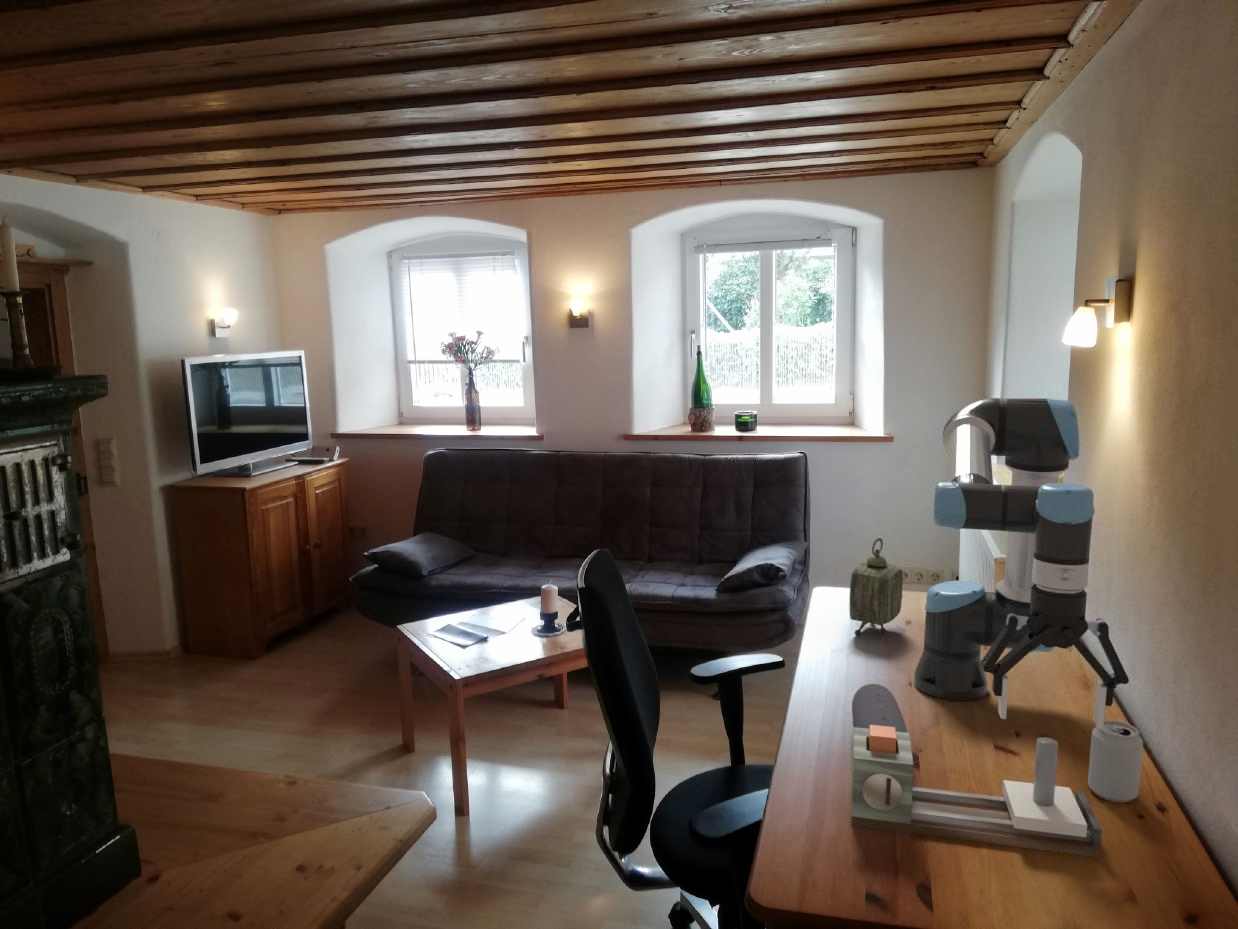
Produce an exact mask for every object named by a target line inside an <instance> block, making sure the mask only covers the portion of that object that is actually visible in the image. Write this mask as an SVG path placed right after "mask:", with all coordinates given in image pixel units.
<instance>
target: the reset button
mask: <svg viewBox="0 0 1238 929" xmlns="http://www.w3.org/2000/svg"><path fill="white" fill-rule="evenodd" d="M869 751H875V752H884V753H893V754H896V731H895V727H888V726H879V725H870V732H869Z"/></svg>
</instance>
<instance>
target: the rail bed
mask: <svg viewBox="0 0 1238 929" xmlns="http://www.w3.org/2000/svg"><path fill="white" fill-rule="evenodd" d="M852 730H853V733H852V734H853V735H852V761H851V762H852V764H851V766H852V767H851V789H850V790H851V791H850V793H851V794H850V796H851V797H850V799H851V800H850V802H851V805H850V806H851V808H850V811H851V813H850V814H851V816H850V818H851V823H850V825H851V826H858V827H866V828H873V829H881V830H887V831H895V832H902V833H904V832H905V833H910V834H916V835H917V834H918V835H925V836H934V837H939V838H940V837H941V838H942V837H943V838H947V839H948V838H949V839H957V840H963V841H972V842H978V843H987V844H994V845H1002V846H1009V847H1016V848H1023V849H1024V848H1025V849H1032V850H1039V851H1047V852H1054V853H1062V854H1070V855H1077V856H1083V857H1084V856H1086V857H1093V858H1100V857H1101V856H1100V855H1101V854H1100V853H1101V844H1102V843H1101V842H1102V834H1103V832H1102V827H1101V825H1100V823H1099V821H1098V820H1097V818H1096V815H1095V813H1094V811H1093V809H1092V807H1091V805H1090V803H1089V801H1088V799H1087V797H1086V795H1085V793H1084V791H1077V790H1076V791H1075V793H1076V794H1075V800H1076V802H1077V804H1078V806H1079V808H1080V810H1081V813H1082V815H1083V817H1084V819H1085V821H1086V823H1087V835H1086V837H1080V836H1072V835H1064V834H1056V833H1048V832H1041V831H1033V830H1025V829H1017V828H1014V826H1013V823H1012V820H1011V817H1010V813H1009V810H1008V807H1007V804H1006V801H1005V798H1004V796H996V795H995V796H993V795H987V794H979V793H971V792H970V793H969V792H961V791H954V790H944V789H938V788H937V789H935V788H927V787H922V786H921V787H918V786H913V785H914V784H913V782H914V781H913V780H914V759H913V757H914V756H913V751H912V746H911V745H912V744H911V737H910V736H911V735H910V732H907V733H904V732H896V754H893V753H884V752H875V751H869V732H870V729H866V728H856V727H854V728H853V729H852Z"/></svg>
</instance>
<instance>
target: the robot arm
mask: <svg viewBox="0 0 1238 929" xmlns="http://www.w3.org/2000/svg"><path fill="white" fill-rule="evenodd" d="M1078 422H1079V421H1078V417H1077V412H1076V408H1075V405H1073V403H1072V402H1071V401H1069V400H1065V399H1055V398H1054V399H1053V398H1049V397H1047V398H1002V397H1001V398H999V397H990V398H989V397H988V398H983V399H979V400H976V401H973V402H970V403H969V404H966V405H964V406H963V407H961V408H960V409H958V410H957V411H956V412H955V413H954V414H952V416H950V418H949V419H948V420H947V422H946V423H945V425H944V427H943V431H942V437H941V438H942V446H943V448H944V450H945V452H946V453H947V456H946V457H947V458H946V460H947V462H946V481H945V482H943V481H942V482H938V483H936V485H935V487H934V500H933V502H934V503H933V522H934V524H936V525H937V526H938V527H944V528H951V529H952V528H953V529H955V530H961V529H965V530H981V531H999V532H1007V538H1006V540H1007V541H1006V543H1007V544H1006V551H1005V552H1006V554H1005V568H1004V570H1005V571H1004V578H1003V579H1002V580H1000V581H998V582H997V583H996V586H995V591H993V592H992V591H986V589H985V587H984V585H983V584H982V583H980V582H975V581H974V582H973V581H970V580H950V581H944V582H943V581H942V582H940V583H936V584H934V585H933V586H931V587H930V588H929V590H928V591H927V594H926V602H925V605H924V611H925V621H924V622H925V624H924V640H923V641H924V642H923V651H922V652H921V656H920V658H919V660H918V663H917V666H916V668H915V671H914V673H913V674H914V675H913V684H914V686H915V687H916V689H918V690H919V691H921V692H922V693H924V694H926V695H929V696H932V697H935V698H938V699H943V700H949V701H957V702H965V701H975V700H979V699H981V698H983V697H985V696H986V695H987V693H988V679H987V675H986V673H989V674H991V675H992V686H991V687H992V688H991V689H992V691H993V692H992V693H993V695H994V696H995V697H998V704H997V705H998V706H997V712H998V715H999V717H1000V719H1001V720H1002V719H1003V720H1007V707H1008V695H1009V694H1008V693H1009V677H1008V675H1007V673H1008V672H1010V670H1011V669H1013V668H1014V667H1015V666H1016V665H1017V664H1018V663H1019V662H1021V661H1022V659H1024V658H1025V657H1026V656H1027V655H1029V654H1030V653H1035V652H1036V653H1037V652H1038V653H1049V652H1051V651H1053V650H1054V649H1055V648H1059V649H1063V650H1064V649H1065V650H1066V649H1067V650H1068V648H1070V647H1072V646H1074V648H1075V649H1076V650H1077V651H1078V652H1079V654H1080V655H1081V656H1082V657H1083V658H1084V660H1085V661H1086V662H1087V663H1088V665H1090V667H1091V668H1092V670H1093V671H1094V672H1095V673H1096V674H1097V675H1098V676H1099V678H1100V679H1101V680H1096V681H1095V682H1096V683H1095V693H1094V704H1093V716H1092V718H1093V719H1092V721H1093V723H1094V724H1095V726H1096V727H1097V728H1101V729H1103V727H1104V720H1105V713H1106V707H1112V705H1113V703H1114V691H1115V689H1116V688H1117V686H1118V685H1120V684H1121V685H1127V684H1128V683H1129V682H1130V679H1129V677H1128V674H1127V672H1126V670H1125V669H1124V667H1123V665H1122V664H1123V663H1122V662H1121V659H1120V657H1119V656H1118V654H1117V652H1116V649H1115V647H1114V645H1113V644H1112V640H1111V639H1110V631H1109V628H1110V627H1109V625H1108V623H1107V622H1106V621H1105V620H1104V619H1103V618H1101V617H1098V618H1096V619H1095V620H1086V611H1087V610H1086V609H1087V596H1088V594H1087V592H1086V590H1085V589H1086V588H1088V580H1089V566H1090V550H1091V539H1092V529H1093V518H1094V515H1095V508H1094V500H1095V498H1094V496H1095V495H1094V491H1093V490H1092V489H1091V488H1090V487H1088V486H1083V485H1081V484H1076V483H1069V482H1068V483H1066V482H1060V476H1061V475H1062V474H1063V473H1065V472H1066V471H1068V470H1069V464H1070V460H1071V461H1074V460H1076V459H1078V458H1079V456H1080V434H1079V432H1080V431H1079V423H1078ZM992 456H994V457H1005V458H1004V466H1006V468H1007V469H1009V471H1011V484H1009V485H1007V484H994V479H993V467H992V466H993V465H992ZM1088 630H1090V632H1091V633H1092V635H1094V636H1096V637H1097V639H1098V641H1099V643H1100V645H1101V648H1102V650H1103V652H1104V653H1105V654H1104V655H1105V656H1106V658H1107V661H1108V662H1109V665H1110V667H1111V669H1112V671H1113V672H1112V673H1109V672H1108V671H1107V670H1106V669H1105V667H1104V666H1103V665H1102V664H1101V663H1100V661H1099V660H1098V659H1097V658H1096V656H1094V654H1093V653H1092V652H1091V651H1090V649H1089V648H1088V647H1087V646H1086V645H1085V643H1084V642H1083V641H1082V640H1081V638H1082V637H1083V635H1084V634H1085V633H1086V632H1087V631H1088ZM982 647H988V651H987V652H986V653H985V655H984V656H983V658H981V650H982V649H981V648H982ZM1006 649H1007V650H1009V651H1008V652H1007V653H1006V654H1005V655H1004V656H1003V657H1002V658H1001V656H1002V655H1003V653H1004V652H1005V650H1006ZM999 659H1000V660H999Z"/></svg>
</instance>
